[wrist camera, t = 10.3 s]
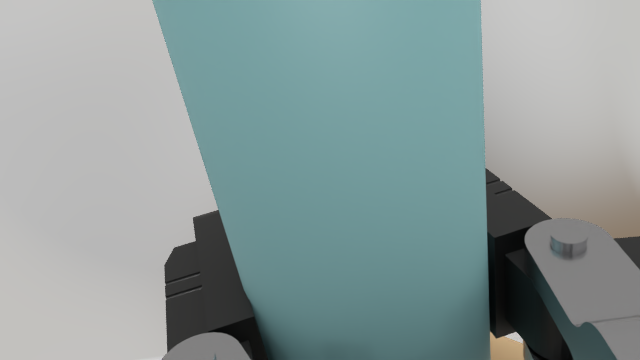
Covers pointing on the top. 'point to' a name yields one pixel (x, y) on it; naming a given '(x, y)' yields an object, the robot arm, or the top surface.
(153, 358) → the top surface
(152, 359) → the top surface
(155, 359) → the top surface
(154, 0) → the teal bottle
